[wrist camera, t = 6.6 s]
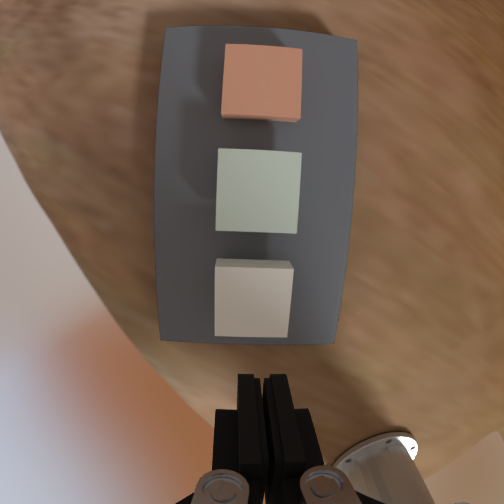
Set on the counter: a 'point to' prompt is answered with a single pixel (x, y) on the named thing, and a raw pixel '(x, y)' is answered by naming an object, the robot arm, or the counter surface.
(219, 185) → the sage key
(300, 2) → the counter surface
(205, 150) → the keypad
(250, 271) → the cream key
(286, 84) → the terracotta key
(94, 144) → the counter surface
